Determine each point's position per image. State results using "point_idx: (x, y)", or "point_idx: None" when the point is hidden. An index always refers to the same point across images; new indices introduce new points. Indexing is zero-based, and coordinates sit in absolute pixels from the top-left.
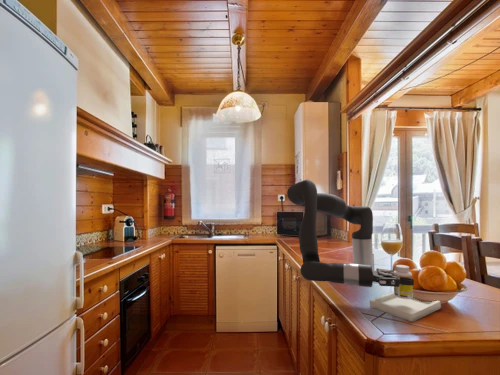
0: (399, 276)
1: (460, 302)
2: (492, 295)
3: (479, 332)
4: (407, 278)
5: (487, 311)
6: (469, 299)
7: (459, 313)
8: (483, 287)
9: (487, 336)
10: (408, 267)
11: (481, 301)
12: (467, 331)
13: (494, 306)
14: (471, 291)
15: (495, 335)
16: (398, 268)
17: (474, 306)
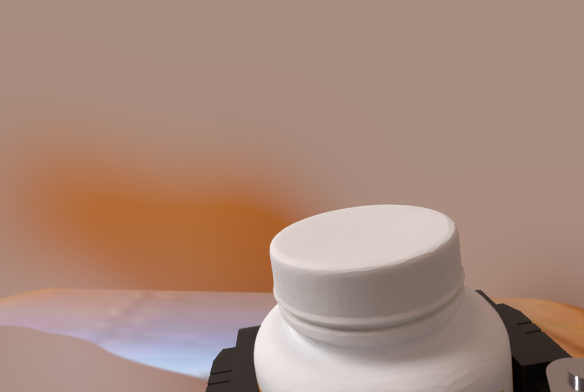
0: (511, 368)
1: (182, 352)
2: (99, 293)
3: (533, 322)
4: (504, 315)
5: (271, 304)
6: (141, 332)
7: None
8: (8, 304)
9: (553, 310)
10: (388, 205)
11: (163, 310)
12: (566, 346)
13: (212, 293)
14: (42, 325)
15: (516, 298)
16: (453, 267)
17: (225, 324)
